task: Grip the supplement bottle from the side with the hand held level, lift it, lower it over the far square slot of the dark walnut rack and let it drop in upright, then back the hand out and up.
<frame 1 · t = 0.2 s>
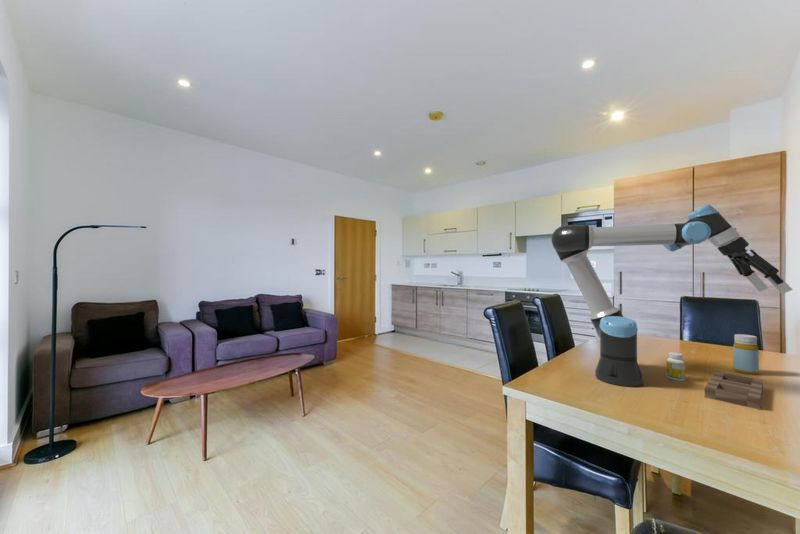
hand: (775, 290, 110), 35 cm above the table, tool tilted 35°, fingers open, 13 cm apart
bottle: (745, 372, 129), on the table
slot rack: (735, 392, 108), on the table
supplement bottle: (675, 379, 122), on the table
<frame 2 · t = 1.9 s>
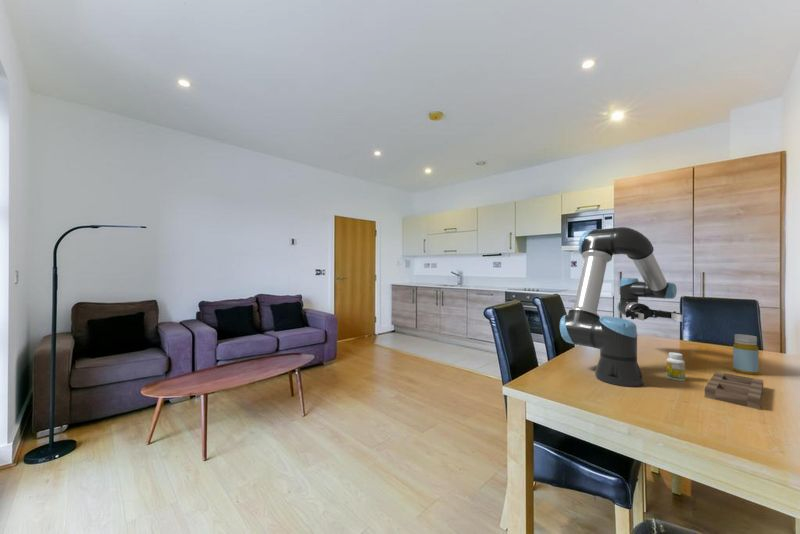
hand: (662, 317, 131), 22 cm above the table, tool horizontal, fingers open, 13 cm apart
nothing on the table moved.
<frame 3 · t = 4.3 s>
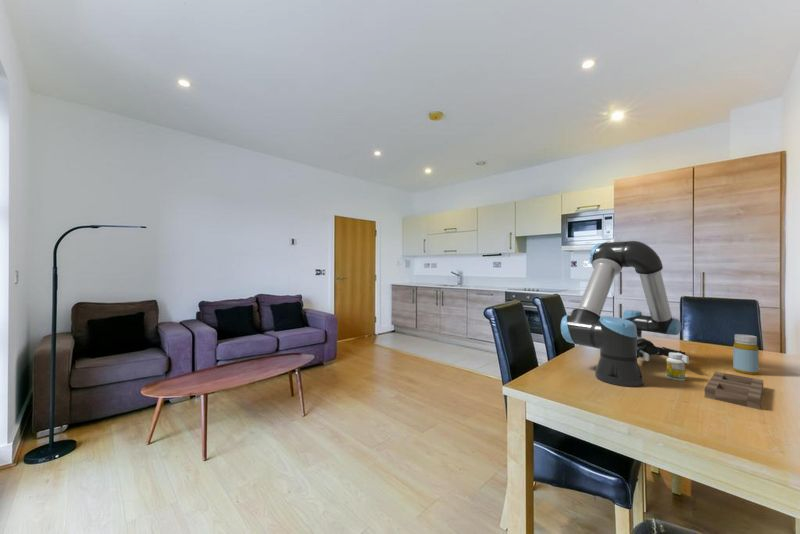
hand: (667, 358, 128), 6 cm above the table, tool horizontal, fingers open, 13 cm apart
nothing on the table moved.
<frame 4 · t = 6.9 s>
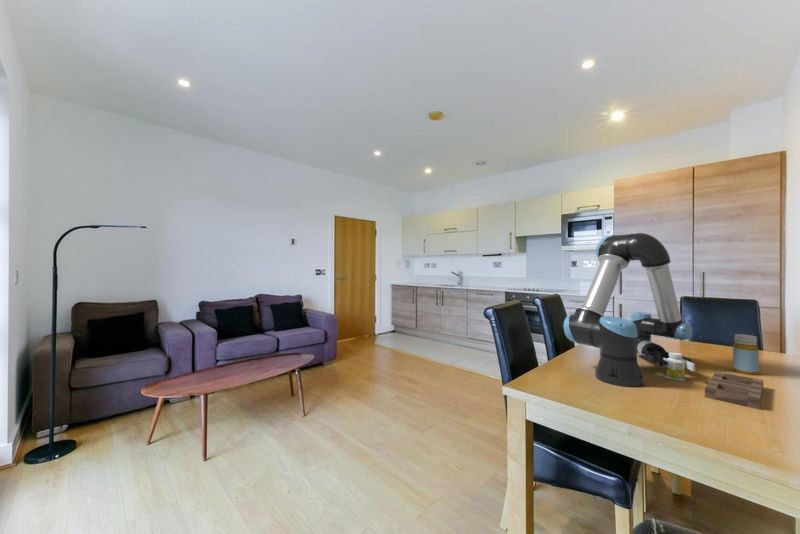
hand: (683, 367, 117), 6 cm above the table, tool horizontal, fingers closed on supplement bottle, 5 cm apart
supplement bottle: (675, 379, 122), on the table, touching gripper
everything else where it was.
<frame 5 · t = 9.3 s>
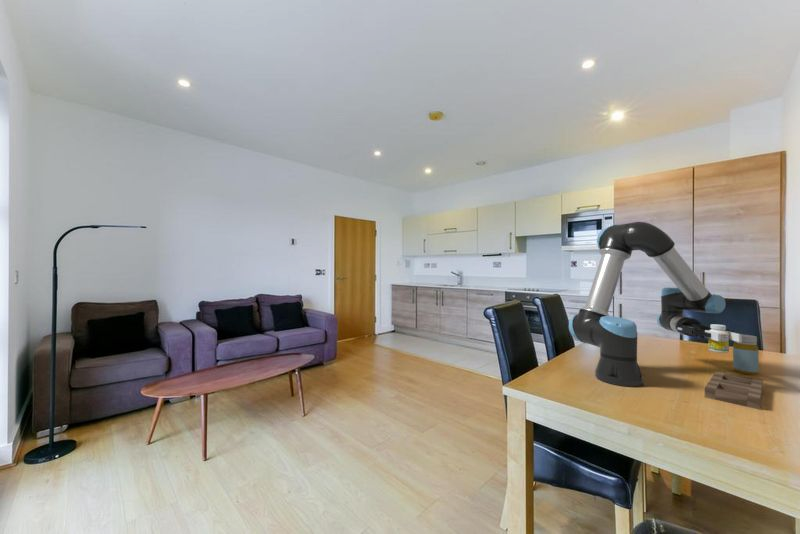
hand: (729, 337, 110), 18 cm above the table, tool horizontal, fingers closed on supplement bottle, 5 cm apart
supplement bottle: (718, 351, 115), point 12 cm above the table, touching gripper
everything else where it was.
when the fingers open (10 cm above the table, at t = 11.8 s): supplement bottle drops 4 cm, resting in slot rack.
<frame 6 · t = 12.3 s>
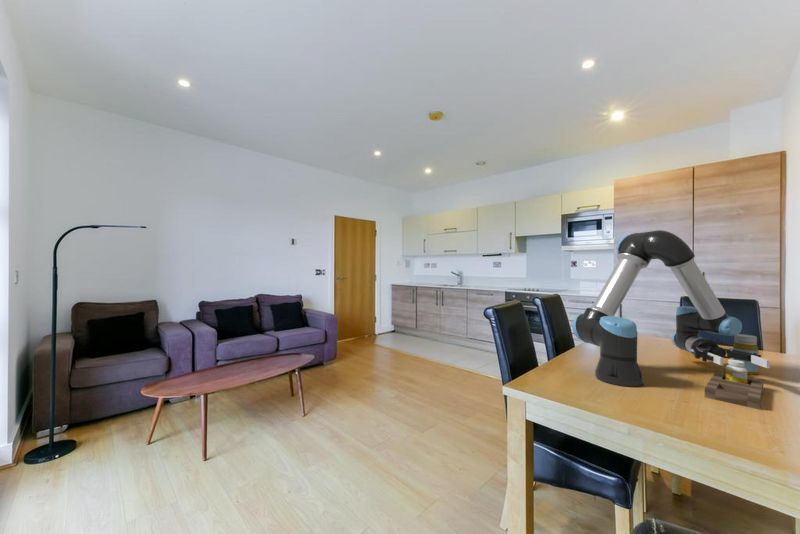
hand: (744, 362, 108), 10 cm above the table, tool horizontal, fingers open, 12 cm apart
supplement bottle: (736, 388, 112), resting in slot rack
everything else where it was.
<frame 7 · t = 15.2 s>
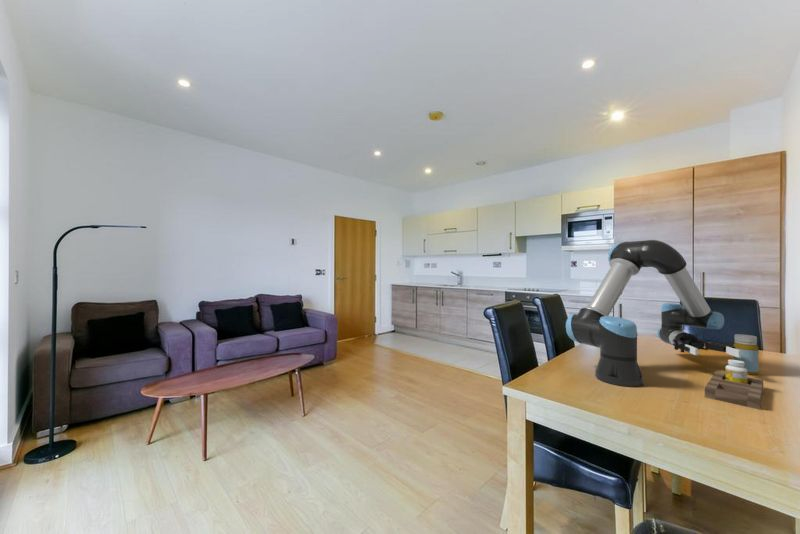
hand: (718, 353, 121), 10 cm above the table, tool horizontal, fingers open, 13 cm apart
nothing on the table moved.
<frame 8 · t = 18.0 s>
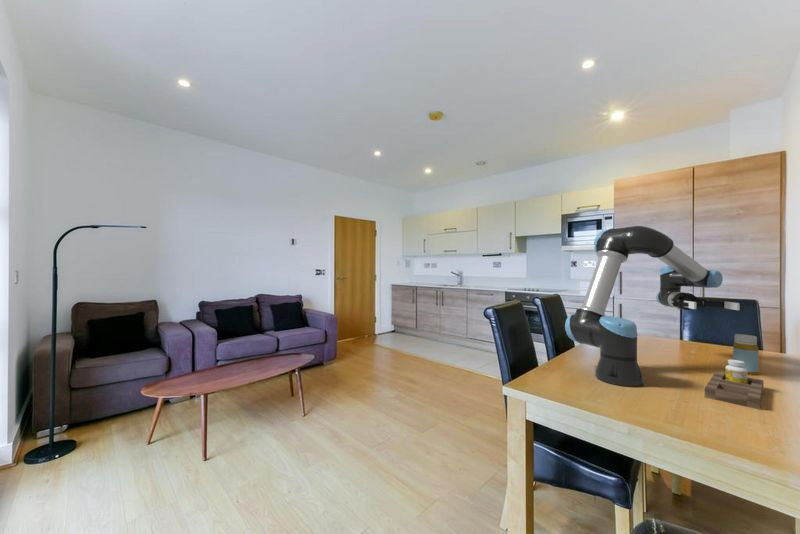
hand: (716, 306, 121), 28 cm above the table, tool horizontal, fingers open, 13 cm apart
nothing on the table moved.
at the end: supplement bottle 0.1 cm from the target spot on the slot rack, point 0.0 cm above the slot rack's base; supplement bottle tilted 0°; the gripper is holding nothing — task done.
